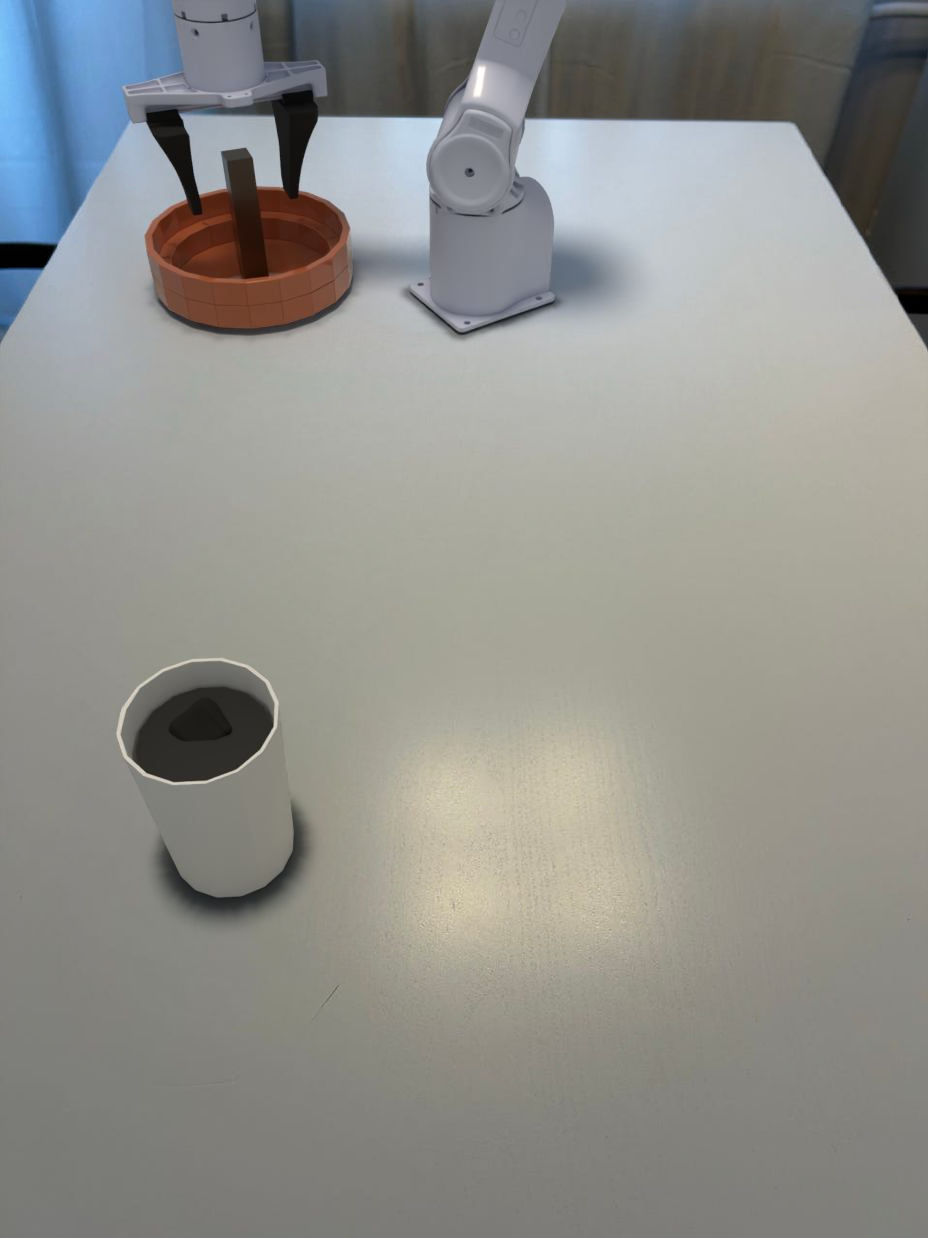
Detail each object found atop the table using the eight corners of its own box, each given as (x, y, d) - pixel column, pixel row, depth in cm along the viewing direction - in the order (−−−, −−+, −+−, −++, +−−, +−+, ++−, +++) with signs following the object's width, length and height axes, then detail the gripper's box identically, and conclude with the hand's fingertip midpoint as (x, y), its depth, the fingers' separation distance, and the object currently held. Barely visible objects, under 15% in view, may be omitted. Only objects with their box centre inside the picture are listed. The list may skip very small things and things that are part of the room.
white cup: (140, 831, 50) (89, 705, 43) (260, 764, 53) (231, 634, 46) (205, 933, 47) (161, 815, 40) (329, 855, 50) (309, 731, 42)
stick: (263, 267, 87) (246, 146, 79) (269, 278, 86) (252, 157, 78) (239, 271, 86) (220, 150, 79) (245, 283, 85) (226, 161, 78)
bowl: (298, 219, 94) (292, 170, 91) (388, 298, 85) (385, 246, 82) (127, 266, 88) (115, 215, 84) (205, 357, 79) (194, 303, 75)
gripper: (119, 41, 67) (161, 240, 77) (333, 15, 71) (347, 207, 81) (101, 7, 71) (143, 199, 81) (303, -16, 75) (320, 170, 85)
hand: (243, 201), depth 81 cm, fingers open, 7 cm apart
